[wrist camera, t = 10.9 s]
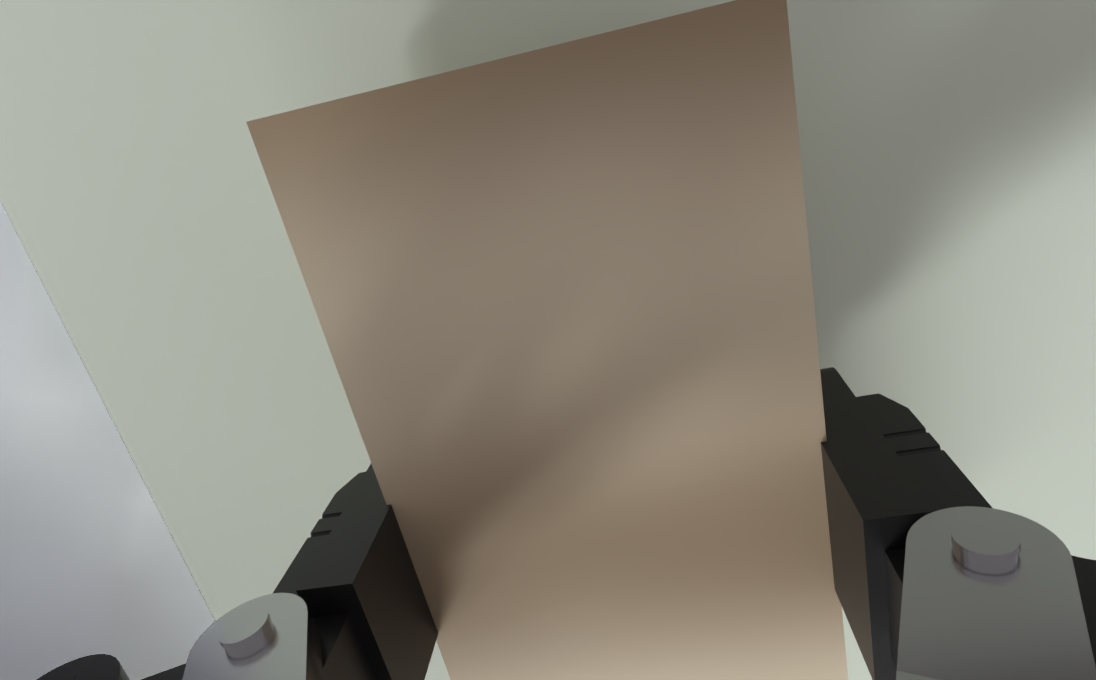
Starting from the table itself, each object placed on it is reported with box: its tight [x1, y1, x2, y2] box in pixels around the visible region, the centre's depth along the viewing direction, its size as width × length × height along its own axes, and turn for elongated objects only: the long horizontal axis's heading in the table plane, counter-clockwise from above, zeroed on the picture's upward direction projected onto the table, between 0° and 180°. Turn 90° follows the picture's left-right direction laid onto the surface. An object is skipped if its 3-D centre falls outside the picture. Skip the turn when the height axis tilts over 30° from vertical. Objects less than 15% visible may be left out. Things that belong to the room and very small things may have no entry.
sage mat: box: [0, 0, 1096, 680], centre depth 13 cm, size 20×20×1 cm
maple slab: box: [246, 0, 848, 680], centre depth 11 cm, size 12×6×4 cm, turn 13°
